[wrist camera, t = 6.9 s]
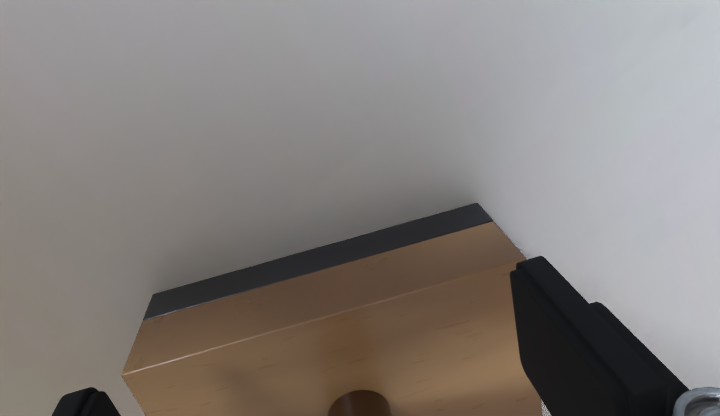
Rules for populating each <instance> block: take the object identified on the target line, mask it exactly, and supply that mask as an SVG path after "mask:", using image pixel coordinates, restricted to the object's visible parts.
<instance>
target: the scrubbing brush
mask: <svg viewBox="0 0 720 416" xmlns="http://www.w3.org/2000/svg"><path fill="white" fill-rule="evenodd" d="M525 260H527V259H526V257H525V256H524V255H523V254H522V253H521V252H520V251H519V250H518V248H517V247H516V246H515V245H514V244H513V243H512V242H511V240H510V239H509V238H508V237H507V236H506V235H505V234H504V233H503V231H502V230H501V229H500V228H499V227H498V226H497V225H496V223H495V222H493V220H492V219H491V217H490V216H489V215H488V214H487V213H486V212H485V211H484V210H483V208H482V207H481V206H480V205H479V204H478V203H475V204H471V205H468V206H464V207H461V208H457V209H454V210H450V211H446V212H443V213H439V214H436V215H432V216H429V217H425V218H422V219H418V220H415V221H411V222H408V223H404V224H400V225H397V226H393V227H390V228H386V229H383V230H379V231H376V232H372V233H369V234H365V235H362V236H358V237H355V238H351V239H347V240H344V241H340V242H337V243H333V244H330V245H326V246H323V247H319V248H316V249H312V250H309V251H305V252H302V253H298V254H294V255H291V256H287V257H284V258H280V259H277V260H273V261H270V262H266V263H263V264H259V265H256V266H252V267H249V268H245V269H241V270H238V271H234V272H231V273H227V274H224V275H220V276H217V277H213V278H210V279H206V280H203V281H199V282H196V283H192V284H188V285H185V286H181V287H178V288H174V289H171V290H167V291H164V292H160V293H157V294H154V295H153V296H152V298H151V301H150V303H149V306H148V308H147V311H146V313H145V316H144V318H143V322H142V324H141V326H140V329H139V331H138V334H137V336H136V339H135V341H134V344H133V346H132V349H131V351H130V354H129V356H128V359H127V361H126V364H125V366H124V369H123V371H122V378H123V379H124V381H125V383H126V384H127V386H128V387H129V389H130V391H131V392H132V394H133V396H134V397H135V399H136V401H137V402H138V404H139V405H140V407H141V409H142V410H143V412H144V414H145V415H146V416H542V406H541V398H540V396H539V395H538V393H537V391H536V390H535V388H534V387H533V385H532V383H531V382H530V380H529V379H528V377H527V376H526V374H525V372H524V370H523V367H522V364H521V361H520V355H519V347H518V339H517V331H516V322H515V314H514V306H513V298H512V290H511V282H510V272H511V271H514V270H516V264H517V263H518V262H521V261H525Z"/></svg>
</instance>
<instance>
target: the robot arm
mask: <svg viewBox="0 0 720 416" xmlns="http://www.w3.org/2000/svg"><path fill="white" fill-rule="evenodd" d="M510 282H511V290H512V298H513V306H514V314H515V322H516V331H517V339H518V347H519V355H520V361H521V364H522V367H523V370H524V372H525V374H526V376H527V377H528V379H529V380H530V382H531V383H532V385H533V387H534V388H535V390H536V391H537V393H538V395H539V396H540V398H541V399H542V401H543V402H544V404H545V406H546V407H547V409H548V410H549V412H550V414H551V415H552V416H720V388H715V387H704V388H695V389H692V390H689V389H688V388H687V387H686V386H685V385H684V384H683V383H682V382H681V381H680V380H679V379H678V378H677V377H676V376H675V375H674V374H673V373H672V372H671V371H670V370H669V369H668V368H667V367H666V366H665V365H664V364H663V363H662V362H661V361H660V360H659V359H658V358H657V357H656V356H655V355H654V354H653V353H652V352H651V351H650V350H649V349H648V348H647V347H646V346H645V345H644V344H643V343H642V342H641V341H640V340H638V339H637V338H636V337H635V336H634V335H633V334H632V333H631V332H630V331H629V330H628V329H627V328H626V327H625V326H624V325H623V324H622V323H621V322H620V321H619V320H618V319H617V318H616V317H615V316H614V315H613V314H612V313H611V312H610V311H609V310H608V309H607V308H606V307H605V306H604V305H602V304H601V303H598V302H594V303H590V304H589V303H588V302H587V301H586V300H585V299H584V298H583V297H582V296H581V295H580V294H579V293H578V292H577V291H576V290H575V289H574V288H573V287H572V286H571V285H570V284H569V282H568V281H567V280H566V279H565V278H564V277H563V276H562V275H561V274H560V273H559V272H558V271H557V270H556V269H555V268H554V267H553V266H552V265H551V264H550V263H549V262H548V261H547V260H546V259H545V258H544V257H543V256H538V257H535V258H532V259H528V260H525V261H521V262H518V263H517V264H516V270H514V271H511V272H510ZM52 416H121V415H120V414H119V412H118V411H117V409H116V408H115V406H114V404H113V403H112V401H111V400H110V398H109V397H108V395H107V394H106V393H105V392H103V391H100V392H99V391H98V390H97V389H95V388H93V387H90V388H86V389H83V390H79V391H76V392H73V393H69V394H66V395H64V396H63V397H62V398H61V399H60V401H59V403H58V405H57V407H56V409H55V410H54V412H53V414H52Z"/></svg>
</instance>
